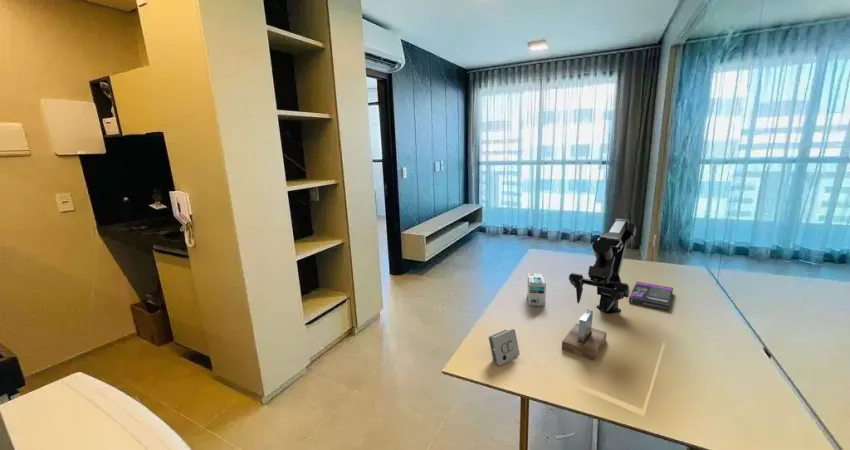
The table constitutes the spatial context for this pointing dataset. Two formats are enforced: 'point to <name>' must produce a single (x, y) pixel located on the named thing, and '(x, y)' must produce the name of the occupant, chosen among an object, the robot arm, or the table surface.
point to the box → (651, 295)
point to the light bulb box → (536, 289)
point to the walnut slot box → (591, 345)
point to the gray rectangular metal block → (585, 326)
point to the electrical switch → (504, 346)
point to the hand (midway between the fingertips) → (591, 306)
